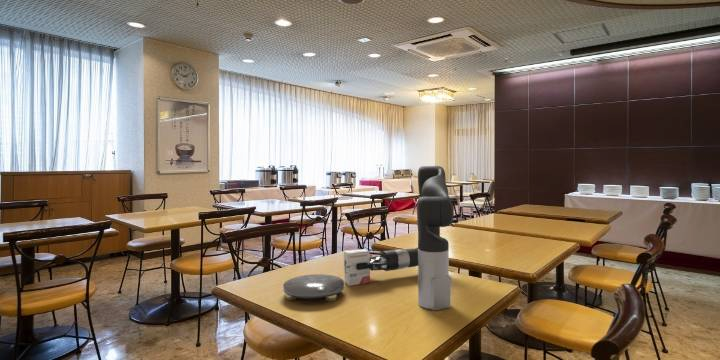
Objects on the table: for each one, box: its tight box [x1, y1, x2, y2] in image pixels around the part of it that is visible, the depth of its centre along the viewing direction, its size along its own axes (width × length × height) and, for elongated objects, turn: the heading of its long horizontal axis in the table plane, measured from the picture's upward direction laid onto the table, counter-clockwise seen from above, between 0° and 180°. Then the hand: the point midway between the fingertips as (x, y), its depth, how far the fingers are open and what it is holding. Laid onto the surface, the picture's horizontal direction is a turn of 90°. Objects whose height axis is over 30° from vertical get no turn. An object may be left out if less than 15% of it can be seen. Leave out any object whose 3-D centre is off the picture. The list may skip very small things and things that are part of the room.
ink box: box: [343, 248, 371, 287], centre depth 139 cm, size 9×5×12 cm, turn 111°
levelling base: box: [282, 273, 345, 303], centre depth 127 cm, size 20×20×5 cm
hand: (354, 264), depth 139 cm, fingers closed on ink box, 5 cm apart
